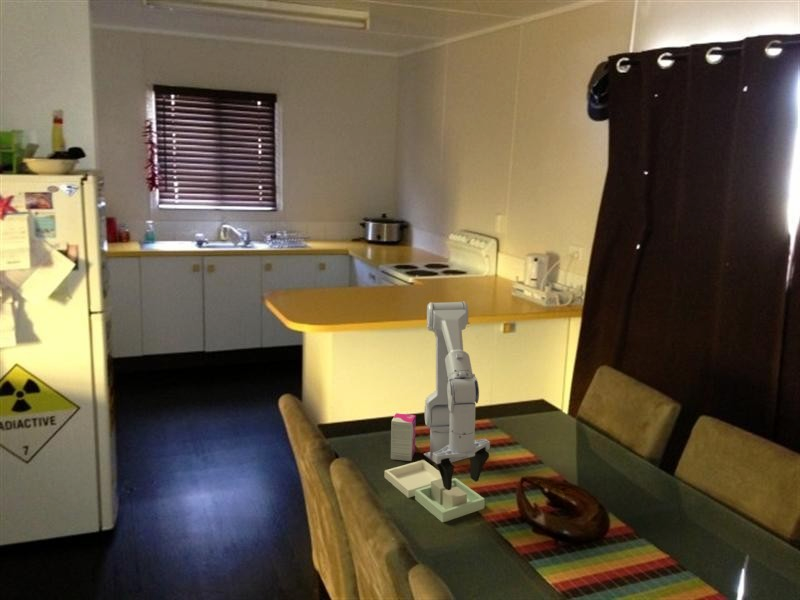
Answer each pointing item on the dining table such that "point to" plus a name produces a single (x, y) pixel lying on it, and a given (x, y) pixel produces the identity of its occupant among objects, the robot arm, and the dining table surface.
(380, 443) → the dining table surface
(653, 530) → the dining table surface
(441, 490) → the cream cube block
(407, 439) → the supplement box
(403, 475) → the tray
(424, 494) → the tub
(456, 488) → the ivory sharp-edged cube
